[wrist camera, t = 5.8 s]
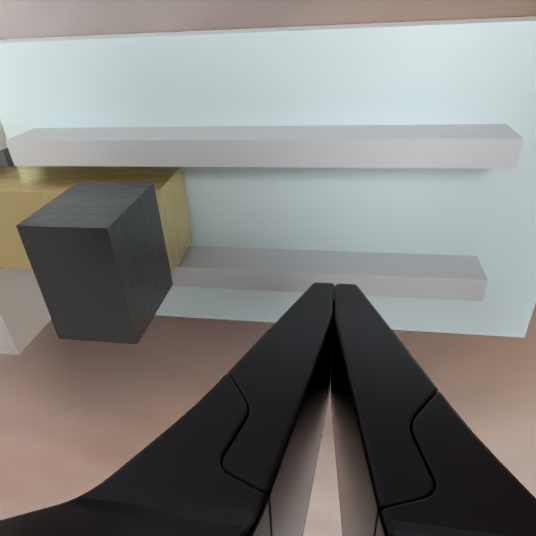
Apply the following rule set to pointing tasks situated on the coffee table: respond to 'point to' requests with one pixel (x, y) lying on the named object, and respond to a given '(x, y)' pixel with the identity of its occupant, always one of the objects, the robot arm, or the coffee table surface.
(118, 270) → the bolt
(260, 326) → the coffee table surface
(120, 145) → the door and jamb
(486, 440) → the coffee table surface
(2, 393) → the coffee table surface
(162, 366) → the coffee table surface
